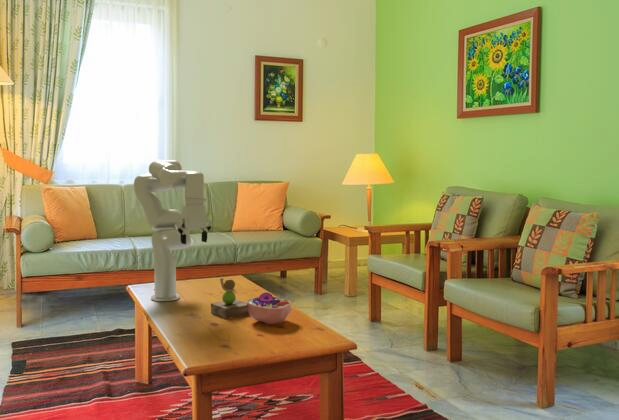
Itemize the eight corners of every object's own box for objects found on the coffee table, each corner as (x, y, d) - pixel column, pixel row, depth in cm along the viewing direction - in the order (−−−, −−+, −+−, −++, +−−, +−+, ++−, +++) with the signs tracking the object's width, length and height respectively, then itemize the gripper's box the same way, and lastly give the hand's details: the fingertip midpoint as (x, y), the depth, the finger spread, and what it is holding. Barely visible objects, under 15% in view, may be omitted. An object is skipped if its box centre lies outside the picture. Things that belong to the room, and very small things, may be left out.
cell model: (256, 331, 234) (256, 301, 233) (241, 318, 253) (241, 290, 252) (298, 327, 240) (298, 298, 239) (281, 314, 259) (281, 287, 258)
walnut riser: (210, 312, 261) (210, 303, 261) (235, 308, 268) (235, 299, 268) (226, 318, 252) (226, 308, 251) (251, 314, 259) (251, 304, 259)
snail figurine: (221, 302, 262) (221, 274, 261) (236, 302, 262) (236, 274, 261) (218, 305, 257) (218, 276, 256) (234, 305, 256) (234, 276, 255)
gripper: (207, 200, 269) (207, 239, 271) (171, 201, 258) (170, 243, 260) (217, 201, 263) (216, 242, 265) (179, 203, 252) (179, 245, 254)
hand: (194, 242), depth 262 cm, fingers open, 9 cm apart
